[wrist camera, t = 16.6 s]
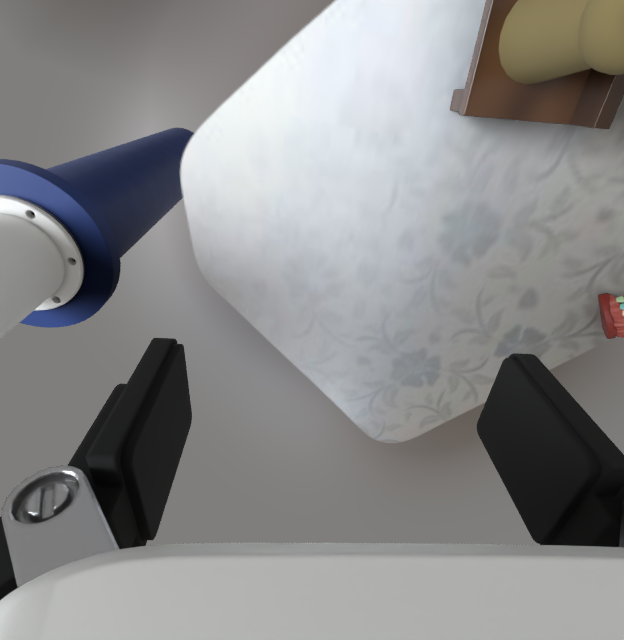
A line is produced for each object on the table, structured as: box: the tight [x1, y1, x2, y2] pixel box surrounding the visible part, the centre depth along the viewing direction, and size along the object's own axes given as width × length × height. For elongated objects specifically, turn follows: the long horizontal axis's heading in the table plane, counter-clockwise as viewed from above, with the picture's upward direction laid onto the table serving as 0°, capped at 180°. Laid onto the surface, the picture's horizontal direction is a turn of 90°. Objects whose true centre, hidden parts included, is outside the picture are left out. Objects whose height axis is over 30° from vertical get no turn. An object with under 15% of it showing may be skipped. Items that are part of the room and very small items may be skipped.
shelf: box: [450, 0, 624, 129], centre depth 29 cm, size 10×11×8 cm
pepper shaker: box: [499, 0, 624, 85], centre depth 23 cm, size 6×6×11 cm
